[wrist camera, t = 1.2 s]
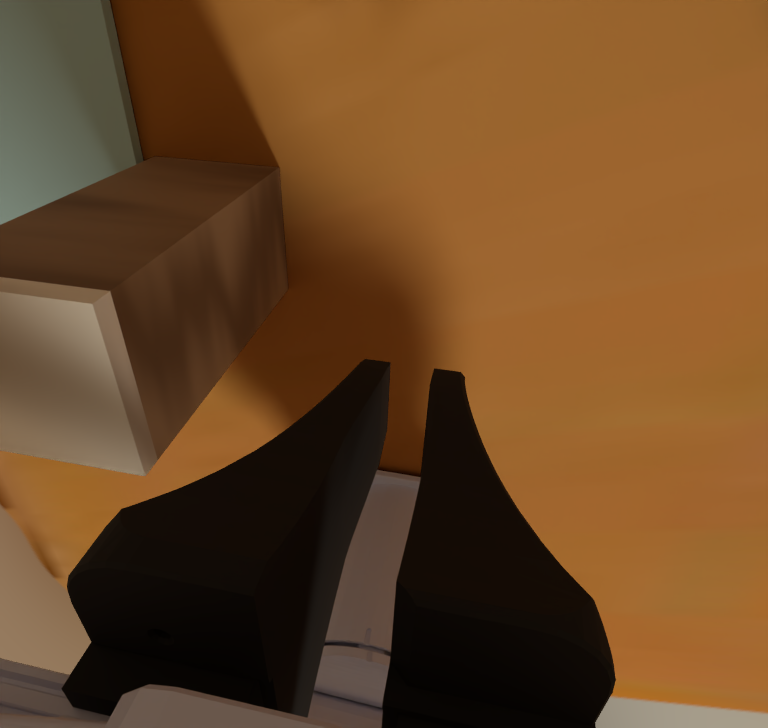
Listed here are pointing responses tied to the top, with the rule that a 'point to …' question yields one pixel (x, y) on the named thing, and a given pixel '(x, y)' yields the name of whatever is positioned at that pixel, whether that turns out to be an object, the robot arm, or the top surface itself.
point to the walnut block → (133, 306)
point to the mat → (60, 102)
